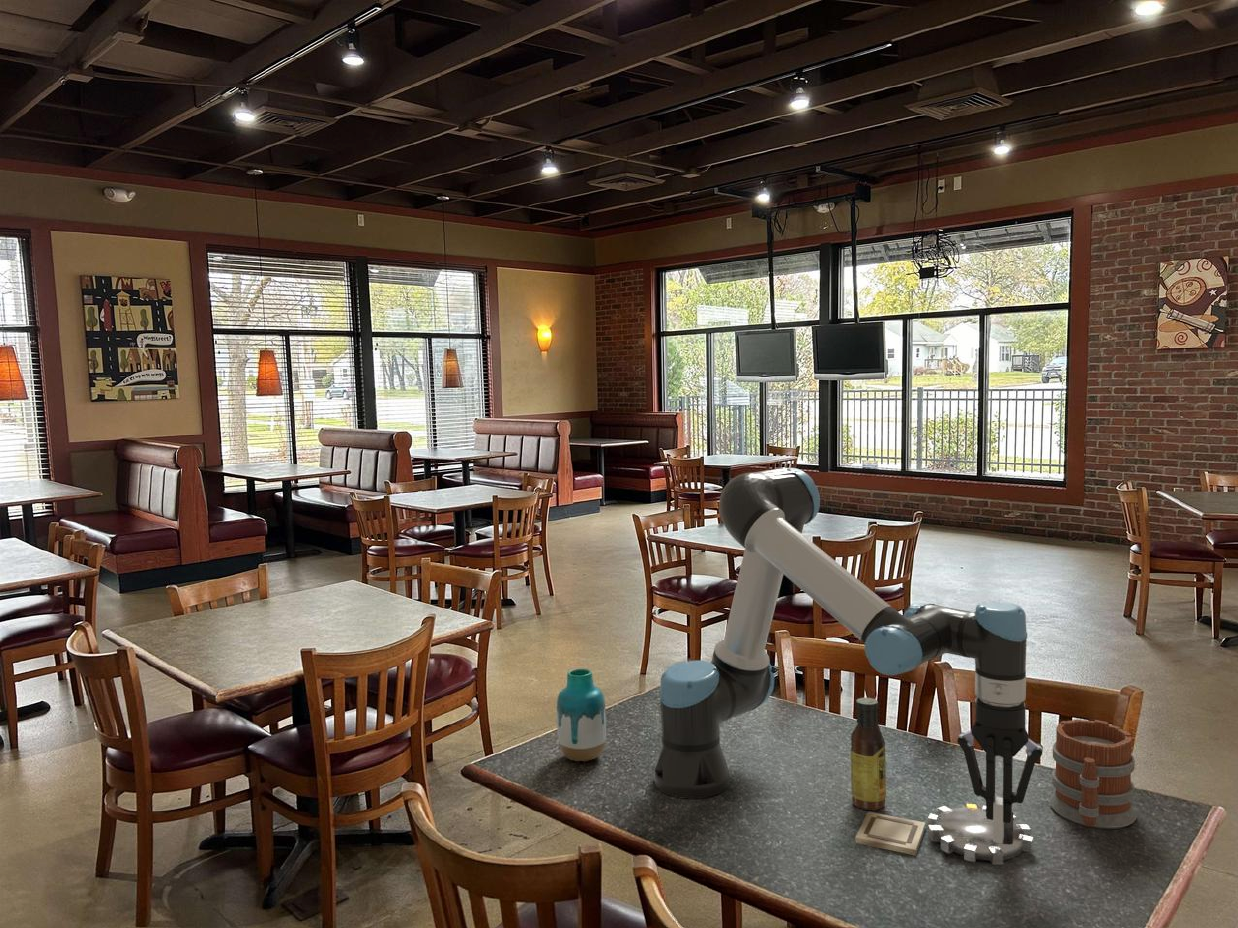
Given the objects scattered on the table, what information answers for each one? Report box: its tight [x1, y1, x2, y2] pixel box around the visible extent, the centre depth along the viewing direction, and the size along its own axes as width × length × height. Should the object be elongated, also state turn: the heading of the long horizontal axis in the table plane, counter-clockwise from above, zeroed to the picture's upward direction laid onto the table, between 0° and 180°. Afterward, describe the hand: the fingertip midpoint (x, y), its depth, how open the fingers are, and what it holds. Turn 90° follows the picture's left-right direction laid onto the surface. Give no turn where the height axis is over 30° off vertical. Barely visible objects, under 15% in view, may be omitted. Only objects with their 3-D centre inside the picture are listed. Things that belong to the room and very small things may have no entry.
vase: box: [556, 667, 607, 762], centre depth 189 cm, size 11×11×19 cm
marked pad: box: [854, 811, 926, 856], centre depth 154 cm, size 10×10×1 cm
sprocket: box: [927, 803, 1034, 866], centre depth 151 cm, size 17×16×7 cm
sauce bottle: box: [850, 697, 887, 811], centre depth 165 cm, size 7×6×20 cm
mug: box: [1048, 719, 1138, 830], centre depth 157 cm, size 14×19×15 cm
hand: (998, 838), depth 144 cm, fingers closed
